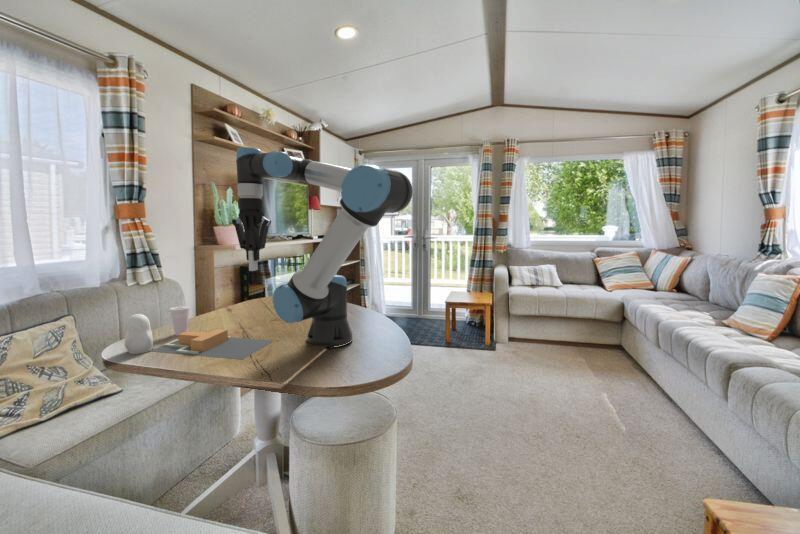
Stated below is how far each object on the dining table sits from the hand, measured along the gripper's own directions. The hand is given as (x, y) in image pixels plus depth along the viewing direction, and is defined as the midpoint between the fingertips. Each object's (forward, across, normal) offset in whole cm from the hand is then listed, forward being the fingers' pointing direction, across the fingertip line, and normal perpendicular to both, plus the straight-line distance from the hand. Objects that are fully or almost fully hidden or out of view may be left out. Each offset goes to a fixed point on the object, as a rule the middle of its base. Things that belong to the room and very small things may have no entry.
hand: (253, 270), depth 125 cm
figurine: (+25, +30, +16) cm, 42 cm away
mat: (+24, +9, +9) cm, 28 cm away
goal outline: (+23, +16, +9) cm, 30 cm away
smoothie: (+25, +31, -2) cm, 40 cm away
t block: (+23, +15, +9) cm, 29 cm away
